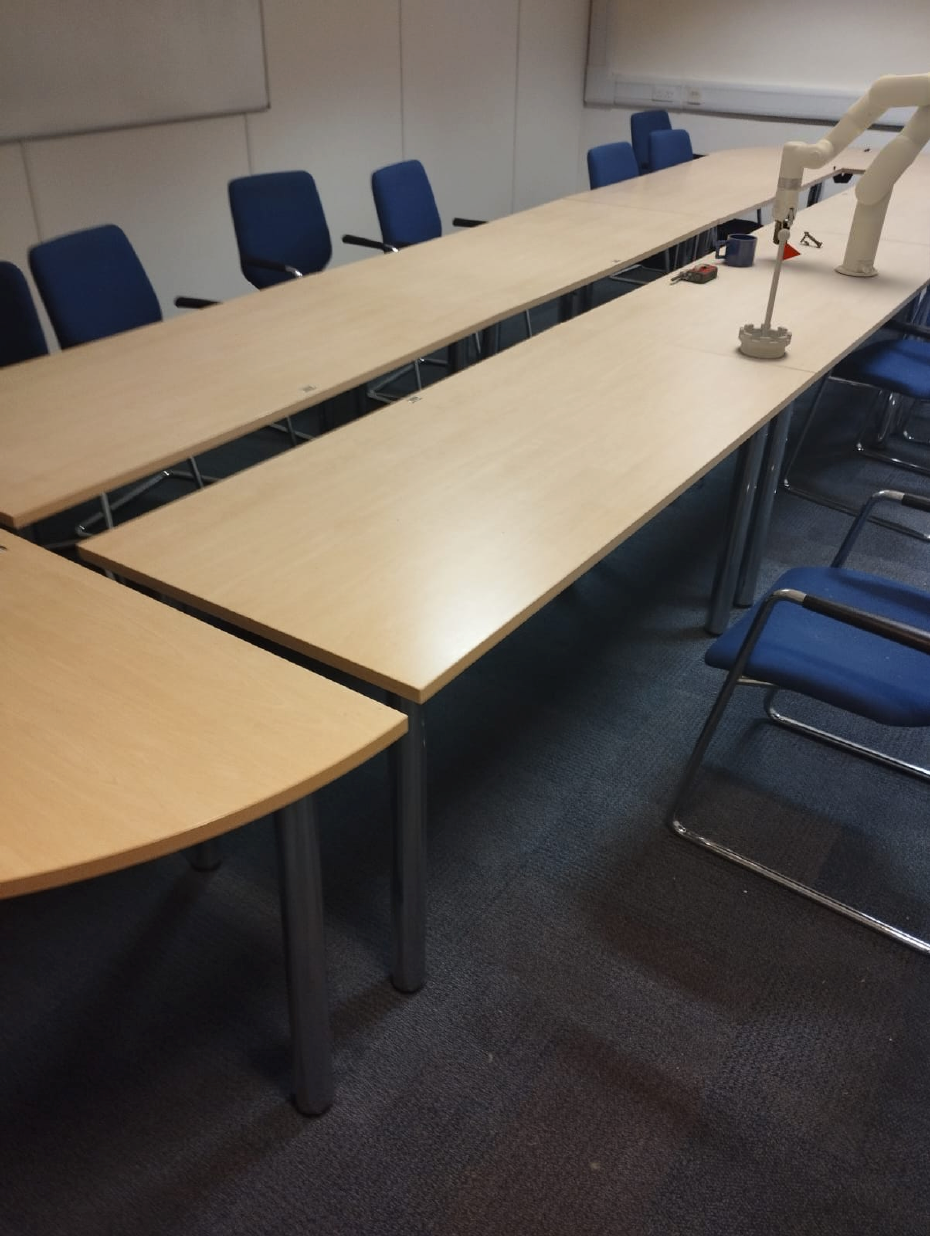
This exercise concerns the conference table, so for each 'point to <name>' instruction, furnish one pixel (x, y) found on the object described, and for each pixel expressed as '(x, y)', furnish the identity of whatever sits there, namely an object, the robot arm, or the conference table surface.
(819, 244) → the wooden post with brackets
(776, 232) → the walnut peg
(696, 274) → the walkie-talkie
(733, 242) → the mug
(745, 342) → the flag stand
